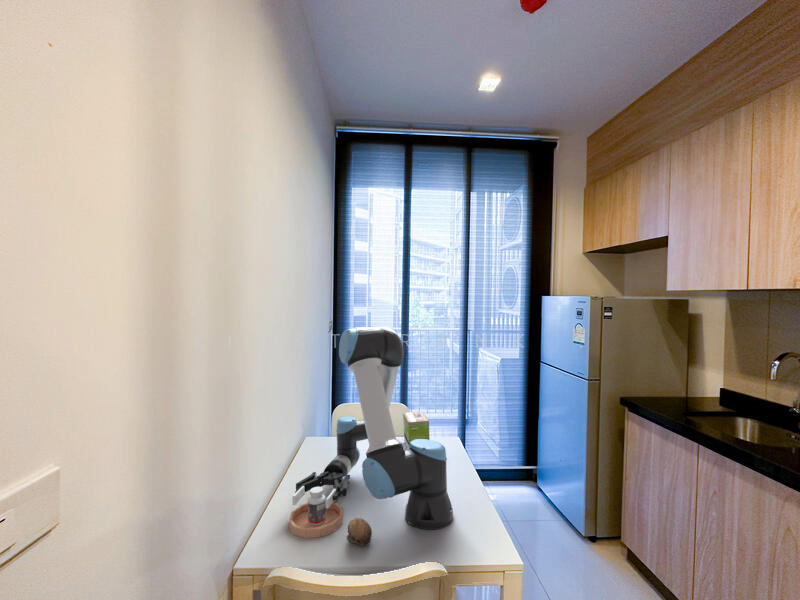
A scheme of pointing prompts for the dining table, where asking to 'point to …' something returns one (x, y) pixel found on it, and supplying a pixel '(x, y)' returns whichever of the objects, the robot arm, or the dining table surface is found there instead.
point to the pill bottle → (316, 507)
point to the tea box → (415, 427)
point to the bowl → (304, 529)
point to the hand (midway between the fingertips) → (310, 502)
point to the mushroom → (359, 532)
